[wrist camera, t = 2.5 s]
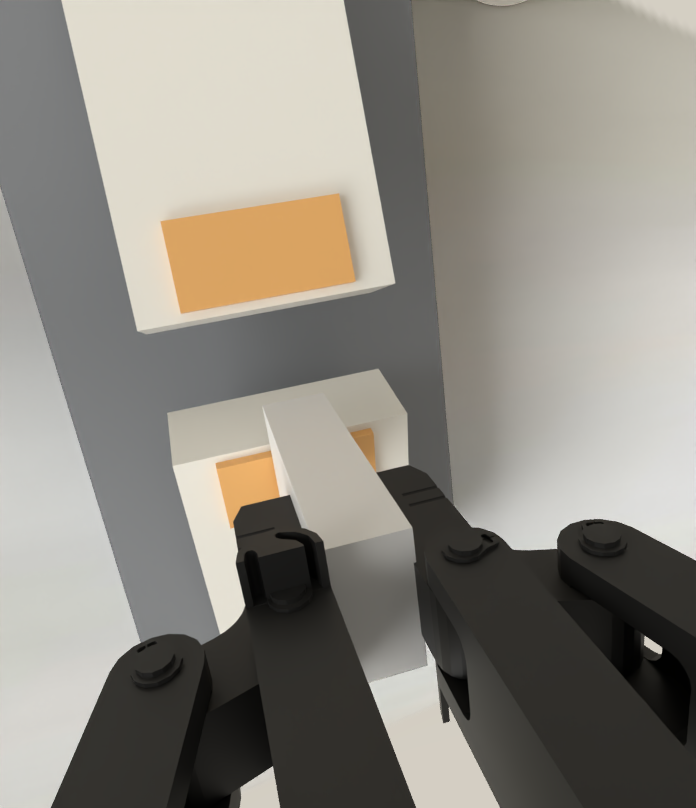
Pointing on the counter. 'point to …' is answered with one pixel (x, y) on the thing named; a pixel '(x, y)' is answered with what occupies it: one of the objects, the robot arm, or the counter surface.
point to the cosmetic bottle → (501, 2)
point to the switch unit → (212, 342)
